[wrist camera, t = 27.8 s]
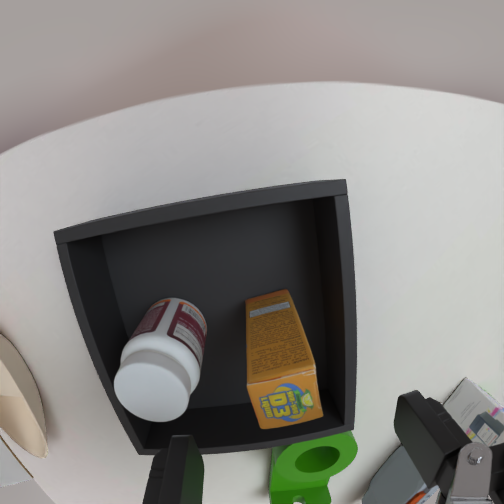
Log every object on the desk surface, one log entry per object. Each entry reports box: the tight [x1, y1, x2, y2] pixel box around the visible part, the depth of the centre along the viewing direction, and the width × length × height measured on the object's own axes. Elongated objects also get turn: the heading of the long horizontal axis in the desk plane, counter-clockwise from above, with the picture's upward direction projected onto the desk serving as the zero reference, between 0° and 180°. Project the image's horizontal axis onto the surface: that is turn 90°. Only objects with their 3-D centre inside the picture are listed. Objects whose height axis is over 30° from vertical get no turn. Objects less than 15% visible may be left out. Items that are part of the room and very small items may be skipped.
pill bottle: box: [114, 298, 207, 422], centre depth 18 cm, size 5×5×8 cm
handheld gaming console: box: [362, 446, 439, 504], centre depth 24 cm, size 14×3×8 cm, turn 162°
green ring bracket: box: [268, 431, 358, 504], centre depth 24 cm, size 15×7×5 cm, turn 179°
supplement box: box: [245, 289, 323, 429], centre depth 17 cm, size 3×3×10 cm
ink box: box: [443, 377, 504, 447], centre depth 20 cm, size 9×5×15 cm, turn 56°
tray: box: [54, 179, 357, 455], centre depth 20 cm, size 18×17×6 cm
